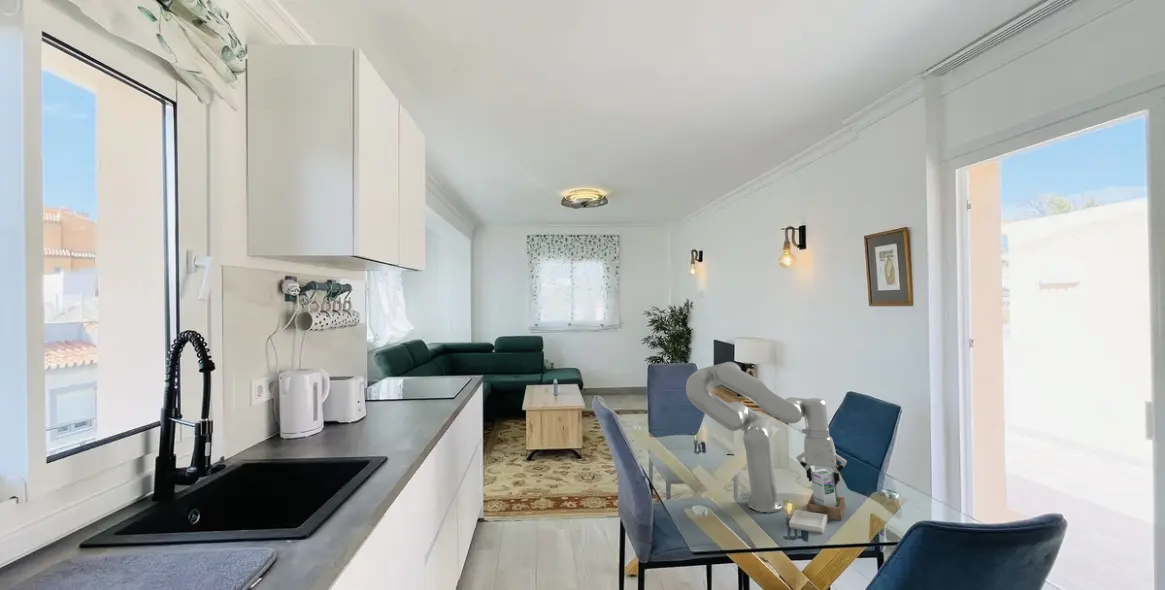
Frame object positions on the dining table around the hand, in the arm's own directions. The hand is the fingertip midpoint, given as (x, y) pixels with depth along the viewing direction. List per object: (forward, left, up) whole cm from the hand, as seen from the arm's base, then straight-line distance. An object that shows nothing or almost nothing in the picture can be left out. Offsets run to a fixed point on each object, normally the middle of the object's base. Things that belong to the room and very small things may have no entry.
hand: (823, 481), depth 173 cm
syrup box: (0, 0, -11) cm, 11 cm away
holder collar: (0, 0, -11) cm, 11 cm away
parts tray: (-4, -12, -11) cm, 17 cm away
